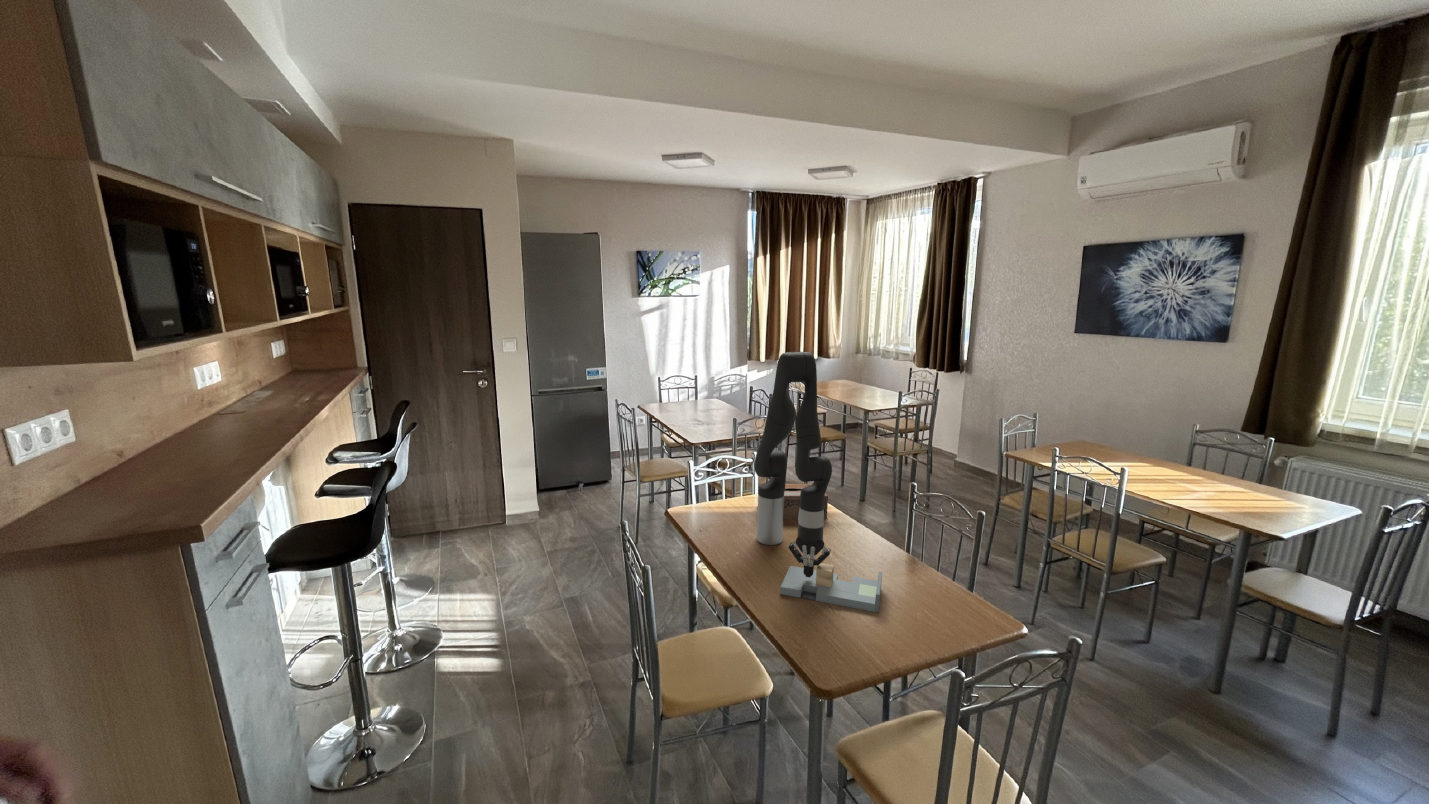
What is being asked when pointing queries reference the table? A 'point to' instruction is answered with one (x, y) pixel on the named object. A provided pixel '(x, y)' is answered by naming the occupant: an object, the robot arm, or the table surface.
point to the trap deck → (834, 590)
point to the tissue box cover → (796, 500)
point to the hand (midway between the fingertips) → (808, 576)
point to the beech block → (824, 575)
